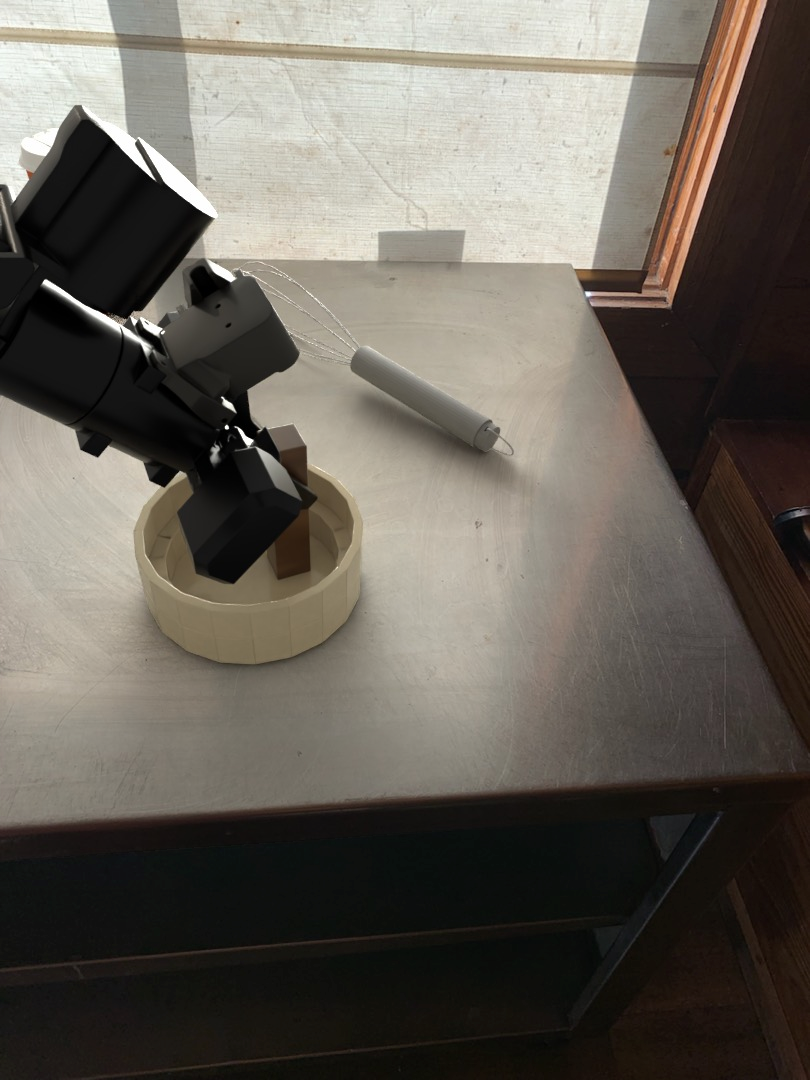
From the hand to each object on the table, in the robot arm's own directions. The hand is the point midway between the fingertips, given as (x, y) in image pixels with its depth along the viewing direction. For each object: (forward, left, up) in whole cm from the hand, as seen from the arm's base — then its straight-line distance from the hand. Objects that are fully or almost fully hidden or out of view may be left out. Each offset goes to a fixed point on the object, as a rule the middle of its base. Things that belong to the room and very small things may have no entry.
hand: (305, 488), depth 50 cm
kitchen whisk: (+9, +22, -7) cm, 25 cm away
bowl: (-4, -1, -7) cm, 8 cm away
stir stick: (-1, 0, -7) cm, 7 cm away
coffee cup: (-13, +40, -7) cm, 43 cm away
